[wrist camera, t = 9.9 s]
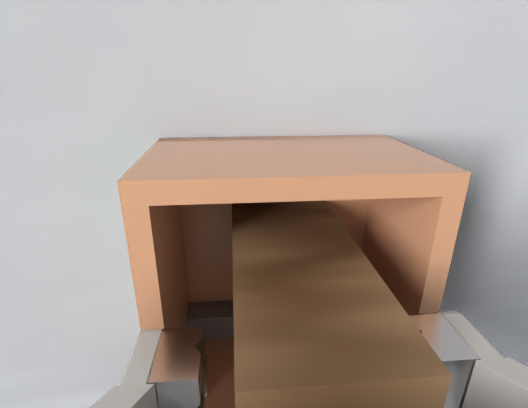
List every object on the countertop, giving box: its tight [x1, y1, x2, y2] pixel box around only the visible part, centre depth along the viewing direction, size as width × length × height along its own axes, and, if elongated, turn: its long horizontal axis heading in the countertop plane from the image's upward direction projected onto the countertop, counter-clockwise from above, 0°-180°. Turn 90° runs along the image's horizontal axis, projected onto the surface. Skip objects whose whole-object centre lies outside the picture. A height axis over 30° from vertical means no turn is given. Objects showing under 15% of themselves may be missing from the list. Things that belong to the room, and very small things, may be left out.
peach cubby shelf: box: [117, 135, 471, 408], centre depth 12 cm, size 8×8×5 cm
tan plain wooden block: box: [232, 200, 452, 408], centre depth 10 cm, size 4×4×8 cm
